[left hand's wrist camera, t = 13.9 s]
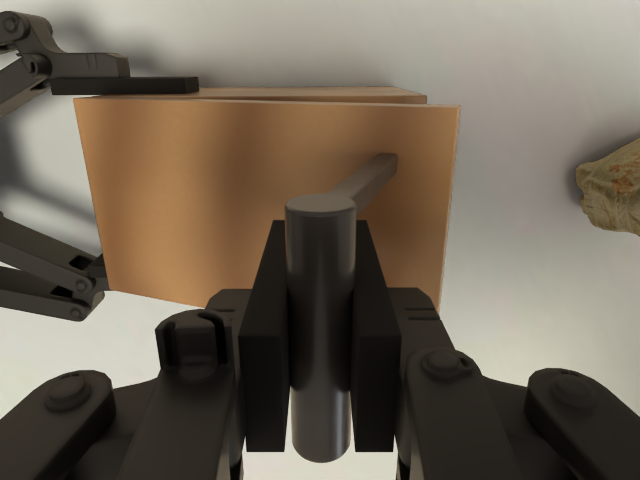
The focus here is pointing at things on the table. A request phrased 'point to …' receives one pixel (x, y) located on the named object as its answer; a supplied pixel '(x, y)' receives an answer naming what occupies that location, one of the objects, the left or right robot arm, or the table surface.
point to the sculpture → (612, 189)
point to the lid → (273, 215)
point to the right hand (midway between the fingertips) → (201, 179)
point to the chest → (297, 94)
